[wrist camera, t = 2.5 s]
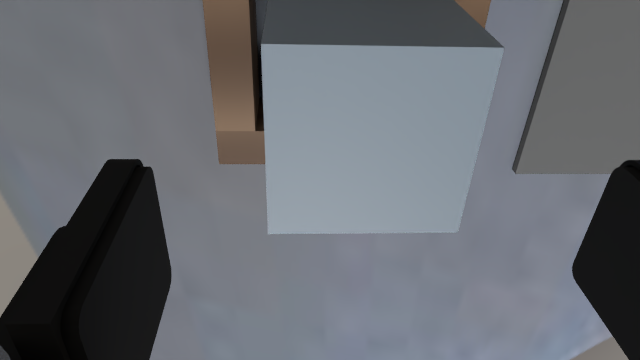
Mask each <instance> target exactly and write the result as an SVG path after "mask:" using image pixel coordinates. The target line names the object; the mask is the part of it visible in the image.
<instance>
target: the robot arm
mask: <svg viewBox="0 0 640 360" xmlns="http://www.w3.org/2000/svg"><path fill="white" fill-rule="evenodd" d="M572 272H573V277H574V279H575V281H576V283H577V284H578V286H579V287H580V289H581V290H582V292H583V293H584V294H585V296H586V297H587V299H588V300H589V302H590V303H591V305H592V306H593V308H594V309H595V311H596V312H597V313H598V315H599V316H600V318H601V319H602V321H603V322H604V324H605V325H606V327H607V328H608V330H609V331H610V333H611V334H612V335H613V337H614V338H615V340H616V341H617V343H618V344H619V346H620V347H621V348H622V350H623V351H624V353H625V355H626V356H627V357H628V359H629V360H640V160H627V161H624V162H623V163H622V164H621V165H620V167H617V168H615V169H614V170H613V172H612V173H611V176H610V178H609V180H608V183H607V185H606V187H605V190H604V192H603V194H602V197H601V199H600V201H599V204H598V206H597V208H596V211H595V213H594V216H593V218H592V220H591V223H590V225H589V227H588V230H587V232H586V234H585V237H584V239H583V241H582V244H581V246H580V248H579V251H578V253H577V256H576V258H575V260H574V263H573V267H572ZM170 284H171V266H170V260H169V255H168V249H167V244H166V239H165V233H164V228H163V222H162V217H161V212H160V206H159V201H158V196H157V190H156V185H155V179H154V174H153V170H152V168H151V167H143V164H142V162H141V161H140V160H139V159H110V160H107V162H106V163H105V164H104V166H103V168H102V169H101V171H100V172H99V174H98V176H97V177H96V179H95V180H94V182H93V184H92V185H91V187H90V188H89V190H88V192H87V193H86V195H85V196H84V198H83V200H82V201H81V203H80V205H79V206H78V208H77V209H76V211H75V213H74V214H73V216H72V217H71V219H70V221H69V222H68V224H67V225H66V226H63V227H61V228H59V229H58V230H57V231H56V232H55V233H54V235H53V236H52V238H51V239H50V241H49V242H48V244H47V245H46V247H45V249H44V250H43V252H42V253H41V255H40V256H39V258H38V260H37V261H36V263H35V264H34V266H33V268H32V269H31V270H30V272H29V274H28V275H27V277H26V278H25V280H24V281H23V283H22V285H21V286H20V288H19V289H18V291H17V292H16V294H15V295H14V297H13V298H12V300H11V302H10V303H9V305H8V306H7V308H6V309H5V311H4V312H3V314H2V316H1V317H0V360H149V358H150V355H151V351H152V348H153V344H154V341H155V337H156V334H157V330H158V327H159V323H160V320H161V316H162V313H163V309H164V306H165V303H166V299H167V296H168V292H169V289H170Z"/></svg>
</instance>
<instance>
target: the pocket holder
mask: <svg viewBox="0 0 640 360" xmlns="http://www.w3.org/2000/svg"><path fill="white" fill-rule="evenodd" d="M454 1H455V2H456V3H457V4H459V5H460V6H461V7H462V8H463V9H464V10H465V11H466V12H467V13H468V14H469V15H470V16H471V17H472V18H473V19H474V20H476V21H477V22H478V23H479V24H480V25H481V26H482V27H483V28H484V29H485V24H486V20H487V15H488V11H489V6H490V2H491V0H454ZM203 8H204V18H205V28H206V38H207V48H208V58H209V68H210V78H211V87H212V97H213V107H214V117H215V127H216V137H217V147H218V157H219V164H265V138H264V112H263V98H259V74H258V50H257V26H256V3H255V0H203Z"/></svg>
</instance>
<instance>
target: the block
mask: <svg viewBox="0 0 640 360" xmlns="http://www.w3.org/2000/svg"><path fill="white" fill-rule="evenodd" d="M503 52H504V47H503V46H502V45H501V44H500V43H499V42H498V41H497V40H496V39H495V38H494V37H493V36H491V35H490V34H489V33H488V32H487V31H486V30H485V29H484V28H483V27H482V26H481V25H480V24H479V23H478V22H477V21H476V20H474V19H473V18H472V17H471V16H470V15H469V14H468V13H467V12H466V11H465V10H464V9H463V8H462V7H461V6H460V5H459V4H457V3H456V2H455V1H454V0H268V3H267V9H266V15H265V22H264V28H263V34H262V40H261V59H262V85H263V112H264V138H265V165H266V191H267V218H268V234H327V233H458V230H459V226H460V222H461V218H462V214H463V210H464V206H465V202H466V198H467V194H468V190H469V186H470V182H471V178H472V174H473V170H474V166H475V162H476V158H477V154H478V150H479V147H480V143H481V139H482V135H483V131H484V127H485V123H486V119H487V115H488V111H489V107H490V103H491V99H492V95H493V91H494V87H495V83H496V79H497V75H498V71H499V67H500V63H501V59H502V56H503Z"/></svg>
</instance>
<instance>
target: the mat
mask: <svg viewBox="0 0 640 360" xmlns="http://www.w3.org/2000/svg"><path fill="white" fill-rule="evenodd" d="M627 160H640V0H564V2H563V6H562V9H561V12H560V15H559V19H558V22H557V25H556V29H555V32H554V35H553V38H552V42H551V45H550V48H549V51H548V55H547V58H546V61H545V64H544V68H543V71H542V74H541V77H540V81H539V84H538V87H537V91H536V94H535V97H534V100H533V104H532V107H531V110H530V113H529V117H528V120H527V123H526V126H525V130H524V133H523V136H522V140H521V143H520V146H519V149H518V153H517V156H516V159H515V162H514V166H513V171H514V172H515V174H611V173H612V172H613V170H614V169H615V168H617V167H620V165H621V164H622V163H623V162H624V161H627Z"/></svg>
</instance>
